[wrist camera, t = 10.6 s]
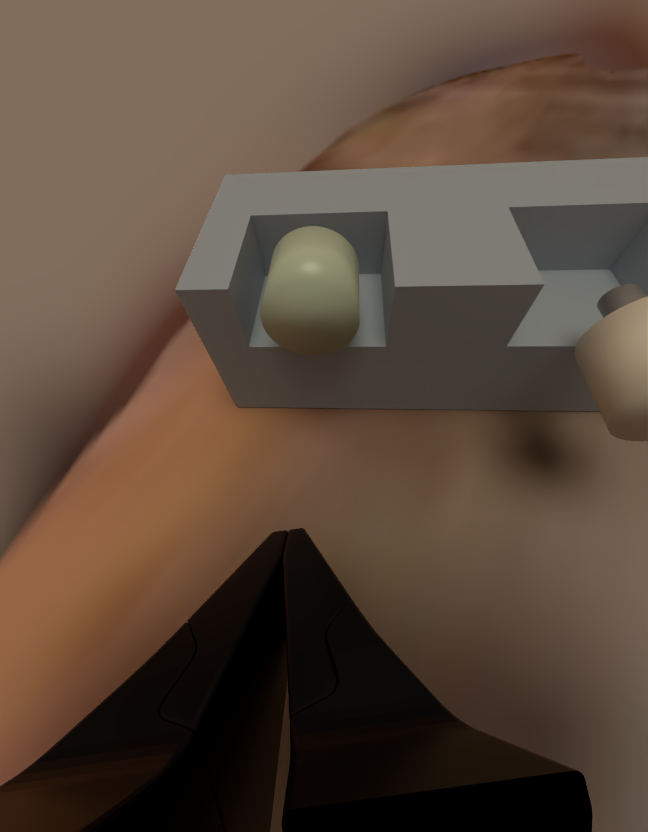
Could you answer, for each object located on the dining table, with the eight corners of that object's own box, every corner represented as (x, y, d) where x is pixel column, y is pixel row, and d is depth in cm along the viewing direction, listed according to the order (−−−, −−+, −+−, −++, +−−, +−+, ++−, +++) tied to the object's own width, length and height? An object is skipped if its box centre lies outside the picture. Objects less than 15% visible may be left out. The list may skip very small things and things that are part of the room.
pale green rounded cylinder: (357, 355, 13) (362, 277, 10) (270, 355, 13) (249, 279, 10) (357, 280, 16) (360, 199, 12) (284, 281, 16) (269, 202, 13)
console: (851, 414, 16) (1217, 273, 9) (237, 407, 19) (174, 290, 12) (742, 296, 21) (934, 144, 14) (260, 302, 23) (225, 174, 16)
